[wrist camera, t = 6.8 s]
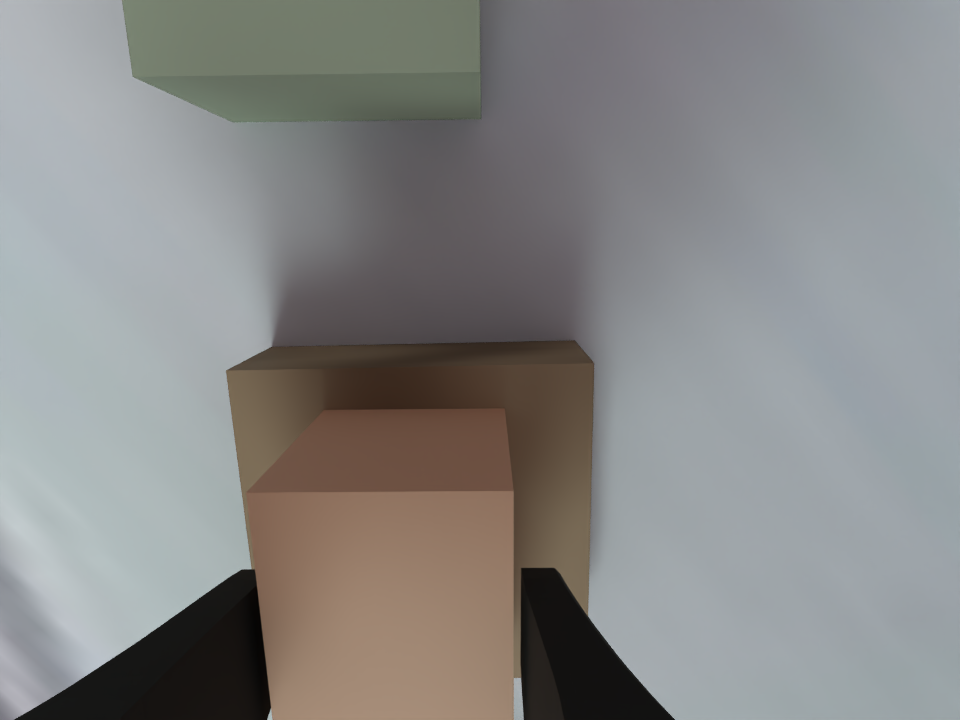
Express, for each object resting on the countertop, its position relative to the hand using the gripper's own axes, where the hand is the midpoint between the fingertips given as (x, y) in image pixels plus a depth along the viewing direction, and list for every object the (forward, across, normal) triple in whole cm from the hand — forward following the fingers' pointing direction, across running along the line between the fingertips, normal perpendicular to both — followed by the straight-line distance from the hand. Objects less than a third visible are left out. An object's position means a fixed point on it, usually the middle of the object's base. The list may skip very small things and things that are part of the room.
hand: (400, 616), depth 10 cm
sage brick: (+6, +2, -12) cm, 13 cm away
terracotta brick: (+3, 0, 0) cm, 3 cm away
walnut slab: (+6, 0, 0) cm, 6 cm away
